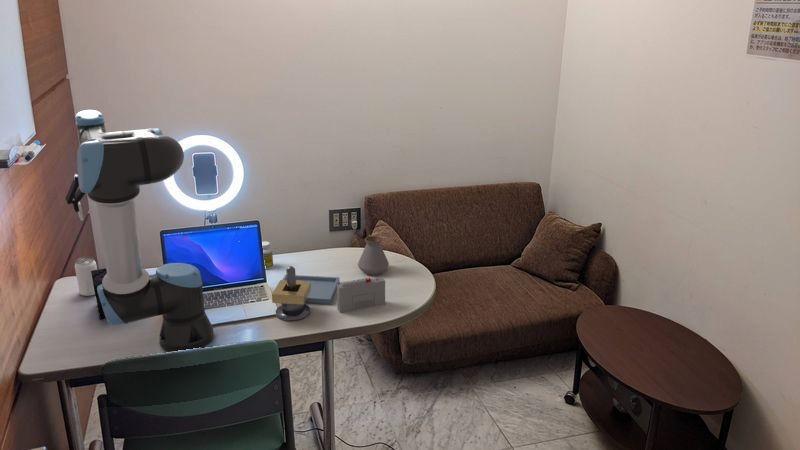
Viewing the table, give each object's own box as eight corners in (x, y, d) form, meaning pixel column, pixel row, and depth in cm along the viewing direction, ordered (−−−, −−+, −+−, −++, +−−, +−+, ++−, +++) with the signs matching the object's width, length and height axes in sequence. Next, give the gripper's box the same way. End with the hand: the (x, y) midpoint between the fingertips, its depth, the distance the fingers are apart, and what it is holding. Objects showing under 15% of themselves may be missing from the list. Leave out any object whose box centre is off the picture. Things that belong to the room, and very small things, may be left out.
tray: (330, 304, 198) (330, 299, 197) (272, 301, 199) (272, 296, 199) (339, 282, 213) (339, 277, 212) (285, 279, 215) (285, 274, 214)
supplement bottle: (268, 262, 228) (266, 239, 225) (276, 267, 224) (274, 243, 221) (256, 266, 225) (254, 243, 221) (263, 271, 221) (261, 247, 218)
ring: (303, 304, 185) (303, 295, 184) (272, 302, 186) (271, 294, 185) (312, 286, 197) (312, 278, 196) (283, 284, 197) (282, 276, 196)
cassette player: (382, 301, 201) (382, 274, 197) (385, 304, 198) (385, 277, 195) (337, 309, 195) (336, 281, 192) (339, 313, 193) (339, 285, 189)
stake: (305, 322, 187) (303, 275, 181) (271, 320, 188) (268, 273, 182) (313, 305, 197) (311, 260, 191) (281, 303, 198) (278, 258, 192)
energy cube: (136, 296, 202) (131, 263, 197) (141, 311, 192) (135, 277, 188) (97, 303, 196) (90, 270, 192) (100, 320, 186) (93, 285, 182)
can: (85, 298, 199) (79, 265, 195) (76, 292, 203) (69, 260, 199) (104, 291, 204) (98, 259, 200) (95, 286, 208) (89, 254, 204)
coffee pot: (391, 276, 219) (392, 238, 213) (360, 278, 216) (360, 240, 211) (380, 253, 238) (380, 218, 233) (351, 255, 236) (351, 220, 230)
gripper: (133, 145, 195) (138, 199, 208) (47, 159, 181) (59, 216, 193) (140, 156, 191) (146, 210, 203) (53, 171, 177) (65, 229, 189)
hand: (103, 213), depth 198 cm, fingers open, 13 cm apart
